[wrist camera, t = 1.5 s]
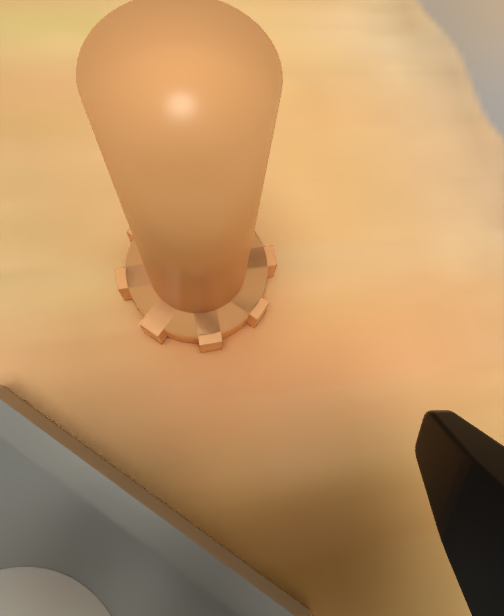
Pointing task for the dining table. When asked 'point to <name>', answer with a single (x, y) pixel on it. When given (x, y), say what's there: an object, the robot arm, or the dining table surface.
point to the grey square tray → (106, 538)
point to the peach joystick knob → (186, 158)
